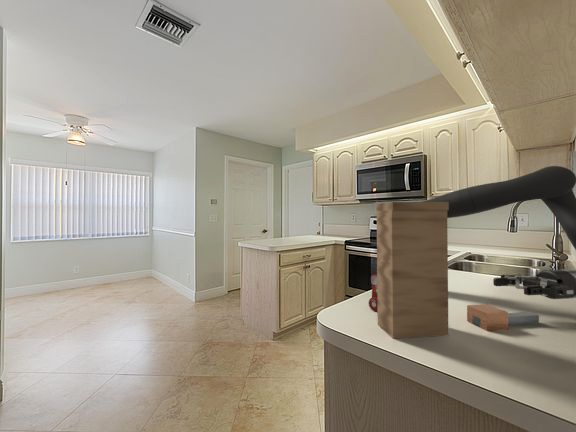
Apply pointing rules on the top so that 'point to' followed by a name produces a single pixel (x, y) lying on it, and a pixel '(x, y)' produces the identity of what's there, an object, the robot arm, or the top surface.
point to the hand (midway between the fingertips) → (508, 286)
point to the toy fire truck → (374, 294)
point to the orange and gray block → (498, 317)
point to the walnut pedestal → (412, 268)
